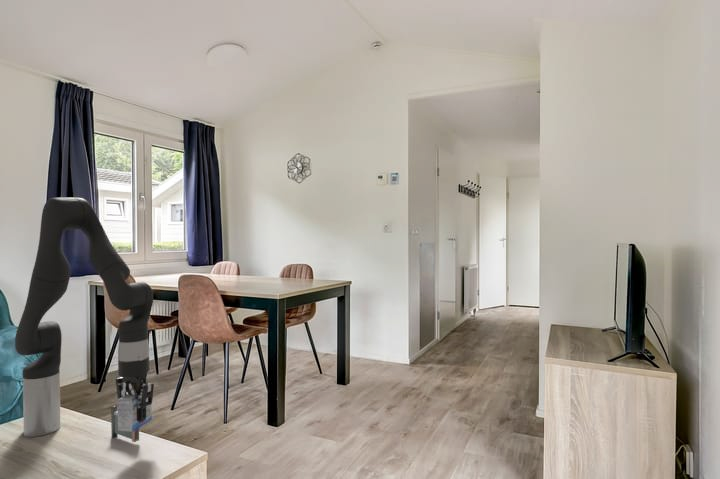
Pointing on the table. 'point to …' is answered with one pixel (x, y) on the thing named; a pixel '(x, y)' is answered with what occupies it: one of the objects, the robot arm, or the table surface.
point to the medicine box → (130, 413)
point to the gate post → (113, 421)
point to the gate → (131, 435)
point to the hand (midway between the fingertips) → (134, 418)
